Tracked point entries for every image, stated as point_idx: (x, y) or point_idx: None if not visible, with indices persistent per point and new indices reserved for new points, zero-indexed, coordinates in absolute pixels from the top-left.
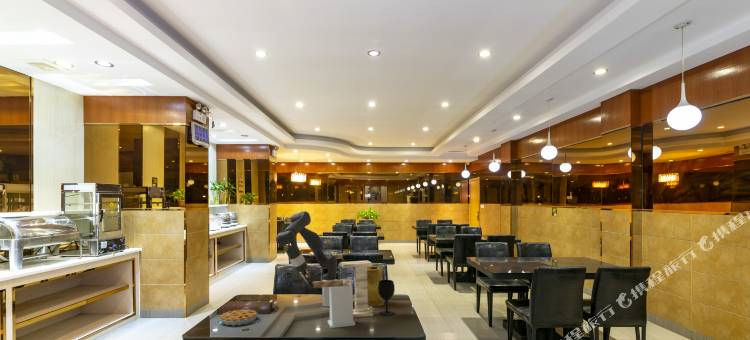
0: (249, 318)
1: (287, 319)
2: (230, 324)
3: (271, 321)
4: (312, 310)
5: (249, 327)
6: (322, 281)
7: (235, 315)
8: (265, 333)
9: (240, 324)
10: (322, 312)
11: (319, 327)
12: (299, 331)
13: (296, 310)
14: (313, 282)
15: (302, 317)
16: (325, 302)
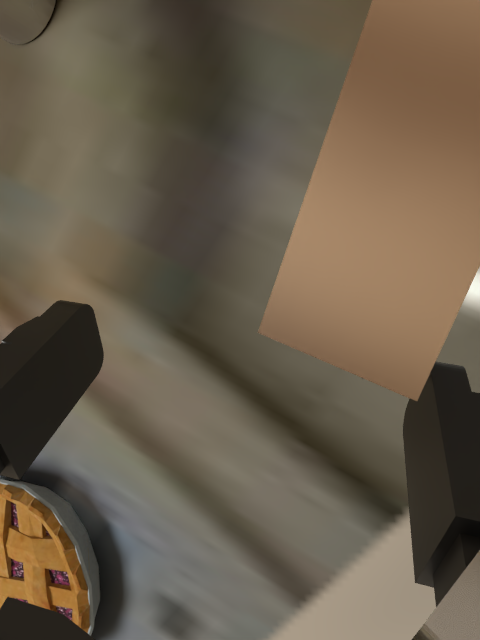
0: (82, 571)
1: (145, 360)
2: None
3: (129, 450)
4: (69, 147)
5: (158, 589)
6: (477, 30)
7: None
8: (312, 600)
9: (98, 598)
10: (137, 99)
11: None
12: None
13: (26, 237)
14: (399, 376)
15: (160, 265)
16: (17, 18)
